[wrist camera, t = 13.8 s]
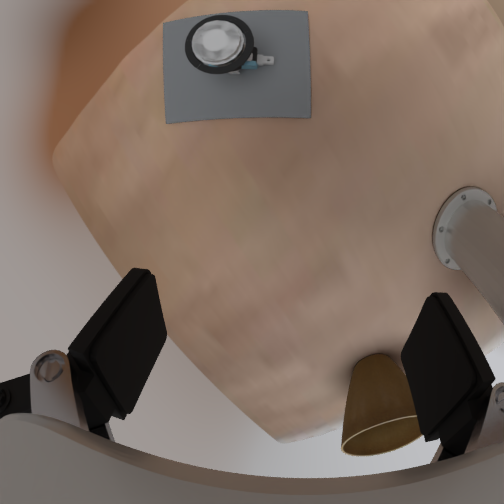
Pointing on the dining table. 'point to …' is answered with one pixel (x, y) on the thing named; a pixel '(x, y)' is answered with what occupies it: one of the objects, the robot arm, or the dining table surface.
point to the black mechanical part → (223, 46)
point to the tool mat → (241, 72)
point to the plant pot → (378, 409)
